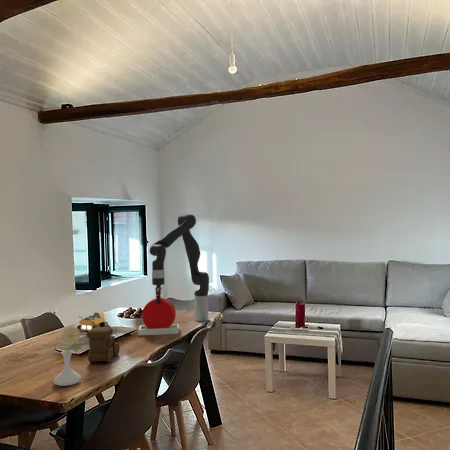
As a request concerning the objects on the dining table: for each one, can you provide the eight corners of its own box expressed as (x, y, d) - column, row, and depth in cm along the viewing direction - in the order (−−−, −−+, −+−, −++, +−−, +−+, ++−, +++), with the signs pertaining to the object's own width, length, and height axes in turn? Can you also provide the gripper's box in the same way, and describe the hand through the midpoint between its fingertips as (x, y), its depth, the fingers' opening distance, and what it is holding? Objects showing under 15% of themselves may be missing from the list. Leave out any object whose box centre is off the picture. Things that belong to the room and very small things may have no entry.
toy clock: (176, 329, 276) (175, 297, 275) (174, 332, 270) (173, 299, 269) (144, 329, 277) (144, 297, 277) (142, 331, 271) (141, 299, 271)
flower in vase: (47, 386, 188) (46, 328, 187) (66, 377, 198) (65, 322, 198) (72, 390, 183) (71, 330, 183) (90, 380, 194) (89, 324, 193)
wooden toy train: (108, 366, 212) (107, 332, 212) (85, 366, 213) (84, 332, 213) (121, 353, 232) (120, 322, 232) (100, 353, 233) (99, 322, 233)
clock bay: (139, 331, 277) (139, 325, 277) (178, 329, 280) (178, 323, 280) (138, 335, 267) (138, 329, 267) (179, 333, 270) (179, 328, 270)
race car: (75, 332, 277) (75, 315, 277) (90, 326, 291) (90, 310, 291) (95, 334, 272) (94, 317, 272) (109, 328, 286) (109, 312, 286)
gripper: (164, 278, 266) (164, 305, 266) (164, 275, 280) (165, 300, 281) (151, 278, 265) (152, 305, 266) (152, 275, 279) (153, 300, 280)
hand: (158, 302), depth 273 cm, fingers open, 8 cm apart
